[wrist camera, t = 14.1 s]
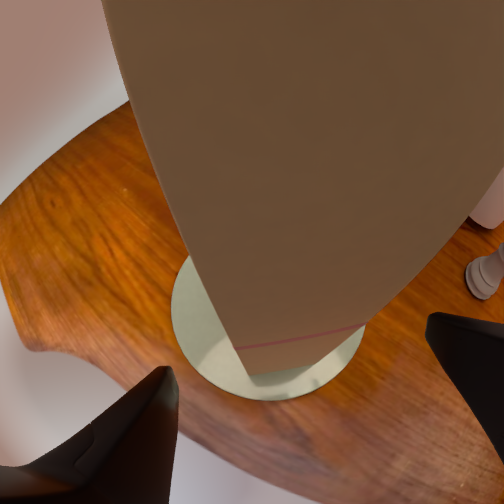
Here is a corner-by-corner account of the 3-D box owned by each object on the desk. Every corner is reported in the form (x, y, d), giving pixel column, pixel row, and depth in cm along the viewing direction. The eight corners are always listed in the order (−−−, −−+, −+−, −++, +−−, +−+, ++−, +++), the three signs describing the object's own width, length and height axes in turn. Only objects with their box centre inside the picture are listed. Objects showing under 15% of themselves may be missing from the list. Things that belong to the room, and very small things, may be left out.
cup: (452, 222, 26) (512, 129, 14) (446, 176, 30) (487, 92, 17) (500, 245, 24) (563, 170, 12) (490, 198, 28) (536, 126, 16)
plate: (323, 430, 17) (325, 431, 16) (139, 342, 21) (136, 340, 20) (382, 257, 24) (384, 253, 23) (228, 200, 28) (227, 196, 27)
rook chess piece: (489, 307, 20) (538, 271, 13) (461, 292, 22) (510, 251, 15) (490, 272, 22) (532, 233, 15) (464, 257, 23) (505, 212, 17)
